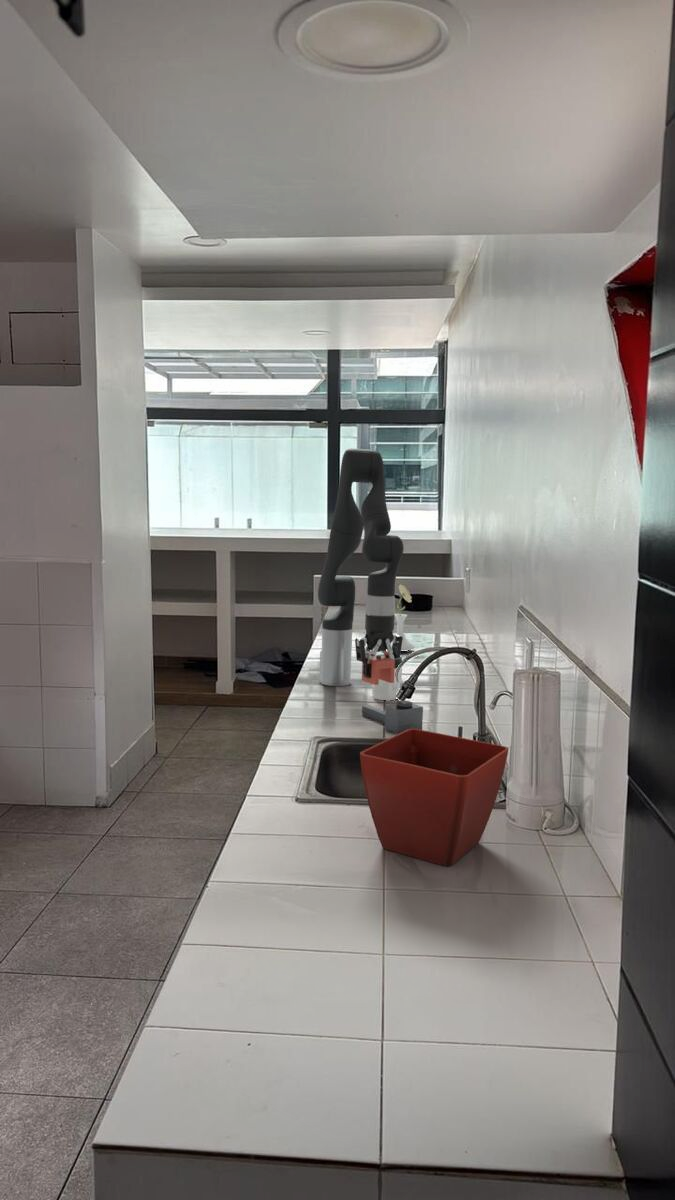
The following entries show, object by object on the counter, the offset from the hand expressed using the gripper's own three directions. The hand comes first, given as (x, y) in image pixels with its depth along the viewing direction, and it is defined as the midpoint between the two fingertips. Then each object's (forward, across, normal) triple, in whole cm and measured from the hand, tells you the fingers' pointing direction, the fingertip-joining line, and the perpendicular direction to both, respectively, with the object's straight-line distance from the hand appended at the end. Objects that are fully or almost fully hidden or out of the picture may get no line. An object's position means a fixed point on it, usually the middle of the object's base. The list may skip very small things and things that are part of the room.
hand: (377, 676), depth 227 cm
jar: (+12, -17, -18) cm, 27 cm away
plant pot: (+12, +41, +71) cm, 83 cm away
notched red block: (+1, 0, 0) cm, 1 cm away
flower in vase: (+12, -67, -76) cm, 102 cm away
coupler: (+11, 0, +5) cm, 12 cm away
